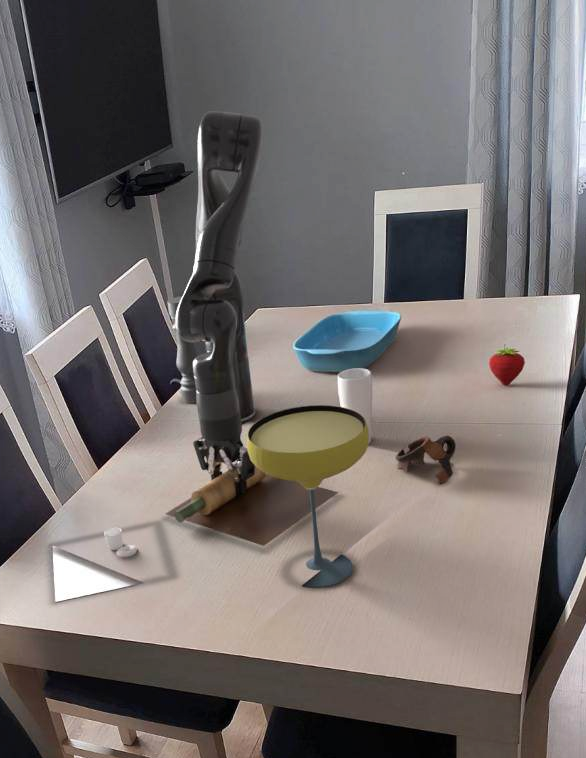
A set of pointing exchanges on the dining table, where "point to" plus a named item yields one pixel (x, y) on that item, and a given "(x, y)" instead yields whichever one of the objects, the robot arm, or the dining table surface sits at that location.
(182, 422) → the dining table surface
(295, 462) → the cocktail glass
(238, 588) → the dining table surface
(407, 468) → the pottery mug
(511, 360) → the strawberry
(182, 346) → the candle holder
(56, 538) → the dining table surface
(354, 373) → the drinking glass
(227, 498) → the rolling pin
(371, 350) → the casserole dish
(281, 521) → the pastry board
